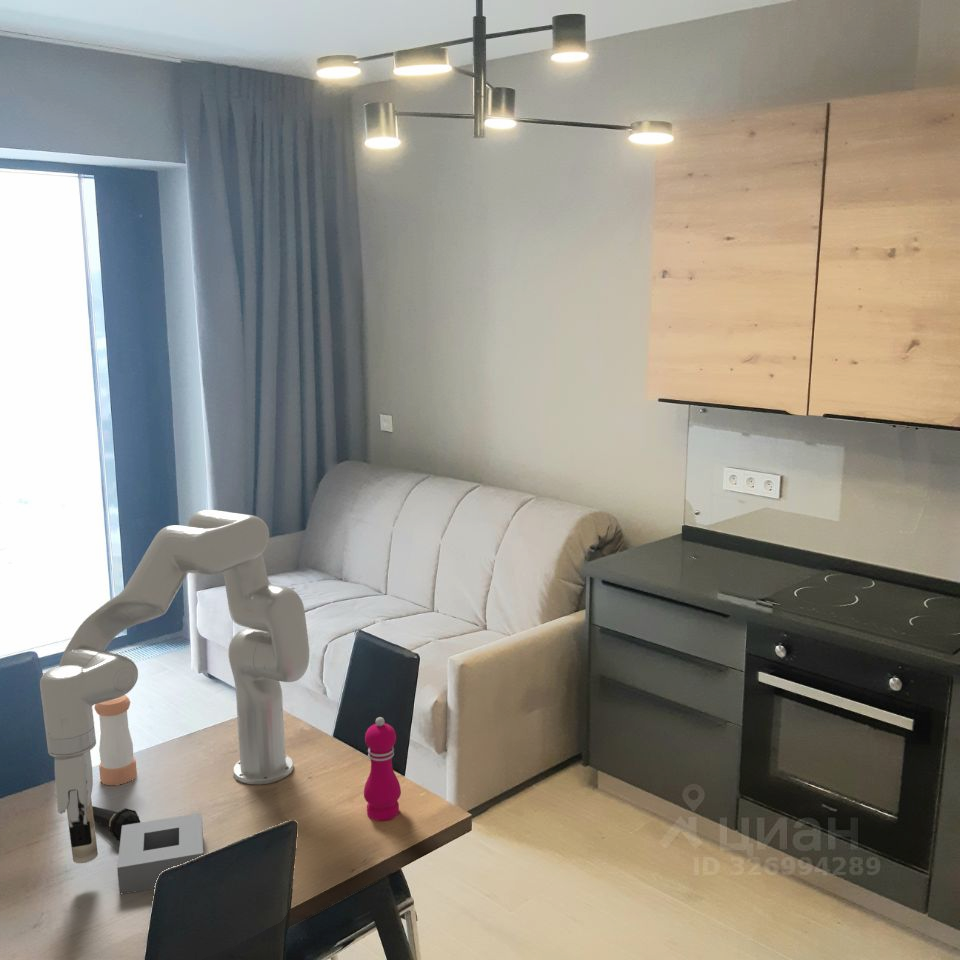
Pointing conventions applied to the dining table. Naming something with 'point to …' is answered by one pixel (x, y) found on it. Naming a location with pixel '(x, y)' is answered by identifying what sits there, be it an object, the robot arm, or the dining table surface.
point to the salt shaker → (115, 742)
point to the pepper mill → (381, 773)
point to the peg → (86, 851)
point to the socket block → (156, 849)
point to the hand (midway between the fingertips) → (83, 836)
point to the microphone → (115, 819)
